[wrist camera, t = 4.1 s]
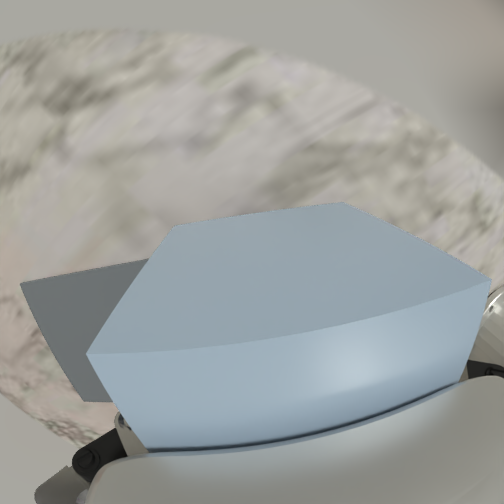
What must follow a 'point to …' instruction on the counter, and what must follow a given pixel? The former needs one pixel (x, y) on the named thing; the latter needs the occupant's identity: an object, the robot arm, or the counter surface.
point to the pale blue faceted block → (284, 328)
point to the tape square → (79, 317)
